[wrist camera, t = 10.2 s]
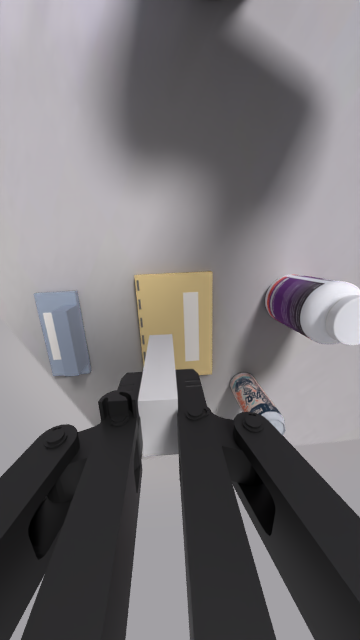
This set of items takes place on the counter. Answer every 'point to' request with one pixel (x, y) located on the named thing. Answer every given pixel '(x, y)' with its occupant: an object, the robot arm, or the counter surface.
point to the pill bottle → (317, 308)
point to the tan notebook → (178, 315)
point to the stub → (63, 332)
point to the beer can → (255, 400)
